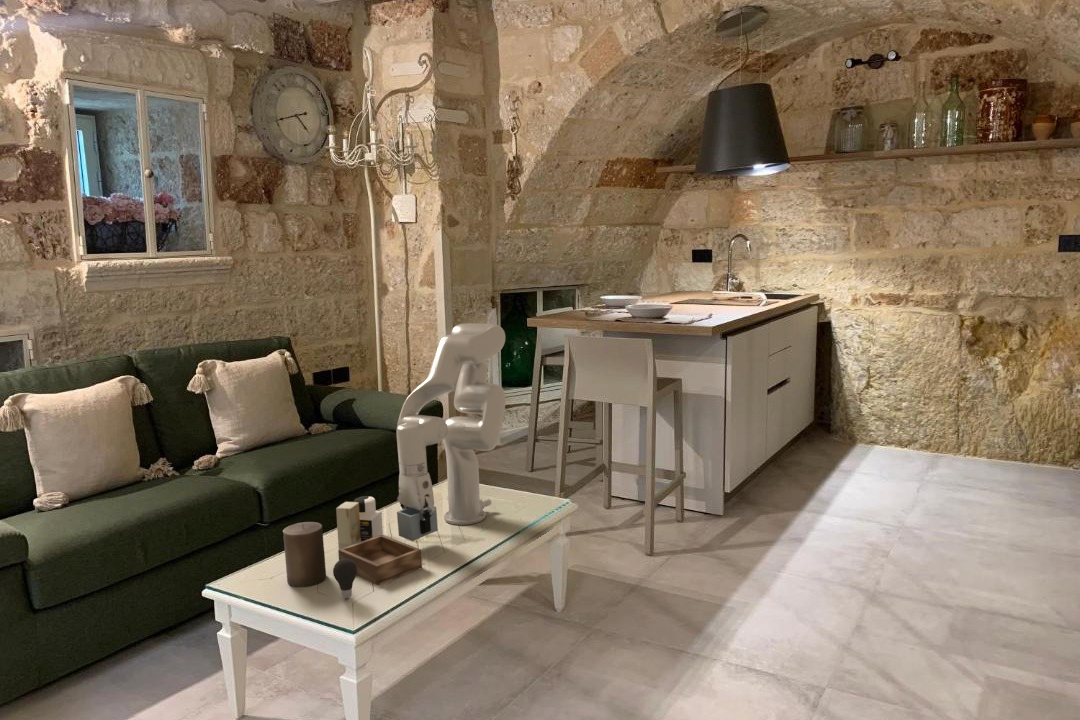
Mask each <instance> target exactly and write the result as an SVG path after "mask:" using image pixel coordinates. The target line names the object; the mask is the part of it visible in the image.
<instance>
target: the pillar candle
mask: <svg viewBox="0 0 1080 720" xmlns="http://www.w3.org/2000/svg"><path fill="white" fill-rule="evenodd" d="M282 534H283V544H284V546H283V547H284V557H285V559H284V560H285V569H286V581H287V584H288V585H290V586H291V587H292V586H293V587H311V586H315V585H317V584H319V583H322V582H324V581H326V580H325V579H326V578H327V570H326V567H327V566H326V557H325V546H324V545H325V544H324V533H323V525H322V524H321V523H319V522H315V521H305V522H297V523H294V524H291V525H288V526H286V527H285V528H284V529H283V530H282Z"/></svg>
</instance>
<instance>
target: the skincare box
mask: <svg viewBox="0 0 1080 720" xmlns="http://www.w3.org/2000/svg"><path fill="white" fill-rule="evenodd" d="M335 511H336V526H337V540H338V541H337V542H338V543H337V544H338V546H337V547H338V550H339V549H342V548H345V547H348V546H351V545H354V544H356V543H359V542H361V532H360V515H359V502H354V501H344V502H343V503H341V504H340V505H338V506H337V507H336V508H335Z"/></svg>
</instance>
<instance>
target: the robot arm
mask: <svg viewBox="0 0 1080 720" xmlns="http://www.w3.org/2000/svg"><path fill="white" fill-rule="evenodd" d="M450 333H451V334H447V335H444V336H443V337H441V339H440V341H439V342H438V345H437V348H436V351H435V354H434V357H433V359H432V363H431V366H430V369H429V371H428V375H427V377H426V379H425V380H424V381H423V382H422V383H420V384H419V385H418V386H417V387H416V388H415V389H414V390H413V391H412V392H411V393H410V394H409V395H408V396H407V397H406V399H405V400H404V403H403V404H402V407H401V410H400V413H399V417H398V419H397V425H396V432H395V433H396V443H397V444H396V445H397V455H398V468H399V475H398V496H397V498H396V499H397V502H399V505H400V507H401V510H403V509H406V508H408V507H410V508H413V509H416V510H418V511H419V513H420V517H421V520H420V530H421V534H425V533H427V532H430V531H431V524H430V518H431V516H432V515H433V513H434V512H435V511H436V512H437V507H436V506H435V498H434V490H433V484H432V479H431V475H430V473H429V472H428V462H427V460H428V459H427V448H426V447H428V446H432V445H435V444H439V443H441V442H443V446H444V449H445V458H446V474H447V477H446V478H447V493H448V496H447V497H448V499H447V500H448V511H447V512H445V514H444V515H443V518H444V519H443V520H444V521H445V522H446V523H448V524H452V525H459V526H460V525H462V526H465V525H473V524H478V523H479V522H482V521H483V520H485V518H486V516H487V515H486V512H485V510H484V508H485V507H488V506H491V505H492V500H491V499H490V498H488V499H485V500H482V499H481V496H480V493H481V492H480V475H479V473H480V470H479V460H478V456H477V455H476V452H475V451H483V452H489V451H492V450H494V449H495V447H497V445H498V442H499V440H500V436H501V431H502V424H503V419H504V415H505V408H506V393H505V391H504V389H503V387H502V386H501V385H499V384H496V383H487V377H488V365H487V363H486V362H487V361H488V360H489V359H491V358H492V357H494V356H495V355H497V354H498V353H500V352H501V350H502V349H503V347H504V345H505V343H506V332H505V330H504V329H503V328H502V327H501V326H500V325H498V324H495V323H494V324H491V323H469V322H467V323H459V324H456V325H455V326H454V327H452V330H451V332H450ZM453 391H454V398H453V406H454V407H453V408H455V410H457V411H458V412H459V413H464V414H470V415H471V414H472V415H474V414H475V415H482V418H481V417H479V418H478V417H472V416H457V415H456V416H452V417H449V418H447V419H446V420H445V419H443V418H442V417H439V416H434V415H433V416H432V415H423V414H420V412H421V410H422V409H423V407H424V406H426V405H427V404H428V403H429V402H431V401H433V400H435V399H438V398H441V397H442V396H446V395H447V394H450V393H451V392H453ZM423 506H425V508H423ZM434 506H435V507H436V508H435V507H434ZM424 510H425V511H426V513H425V514H424V513H423V511H424Z"/></svg>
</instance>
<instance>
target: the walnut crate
mask: <svg viewBox="0 0 1080 720" xmlns="http://www.w3.org/2000/svg"><path fill="white" fill-rule="evenodd" d="M337 552H338V561H339V560H341V559H350V560H352V561H353V562H354V563H355V564H356V567H357V574H356V577H359V578H361V579H364V580H366V581H367V582H370V583H372V584H374V585H377V586H380V585H383V584H384V583H385V584H386V583H387V582H390V581H393V580H395V579H397V578H400V577H402V576H405V575H407V574H410V573H412V572H415V571H418V570H420V569H423V556H422V549H420V548H418V547H415V546H412V545H411V544H408V543H405V542H402V541H400V540H398V539H394V538H392V537H389V536H387V535H384V534H382V535H380V536H377V537H374V538H371V539H368V540H365V541H362V542H359V543H356V544H354V545H351V546H348V547H345V548H342V549H339V548H338V550H337ZM419 568H420V569H419Z"/></svg>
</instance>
